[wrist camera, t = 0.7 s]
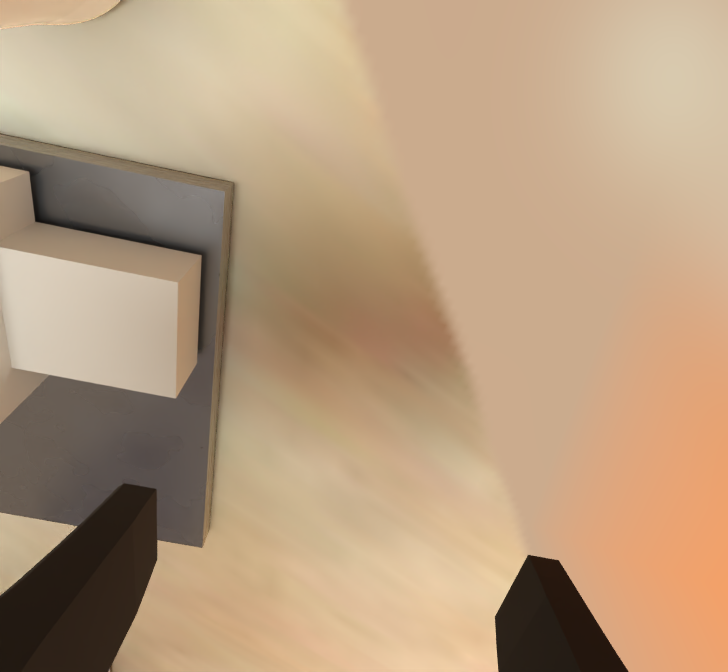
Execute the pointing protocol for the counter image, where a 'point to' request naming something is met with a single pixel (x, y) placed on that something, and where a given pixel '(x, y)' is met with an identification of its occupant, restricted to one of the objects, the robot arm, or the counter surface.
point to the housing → (90, 306)
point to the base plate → (111, 404)
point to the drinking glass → (51, 11)
